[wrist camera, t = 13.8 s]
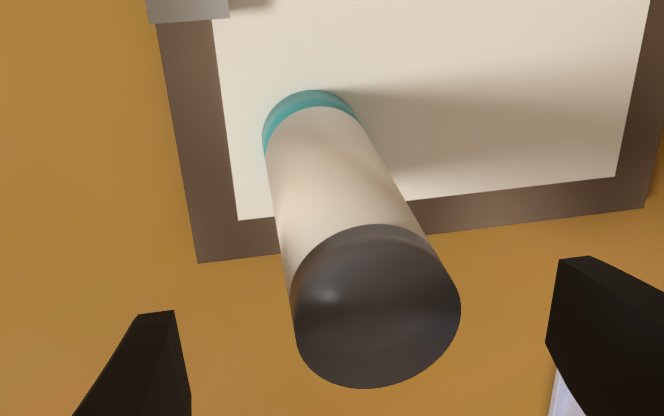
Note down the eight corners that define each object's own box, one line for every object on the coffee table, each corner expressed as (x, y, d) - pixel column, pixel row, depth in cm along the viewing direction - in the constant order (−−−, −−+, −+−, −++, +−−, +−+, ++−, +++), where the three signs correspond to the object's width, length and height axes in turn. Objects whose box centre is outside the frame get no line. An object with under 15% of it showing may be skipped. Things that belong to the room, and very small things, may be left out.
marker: (358, 85, 18) (466, 243, 10) (360, 176, 20) (455, 376, 12) (257, 94, 18) (289, 265, 10) (266, 186, 19) (300, 399, 11)
